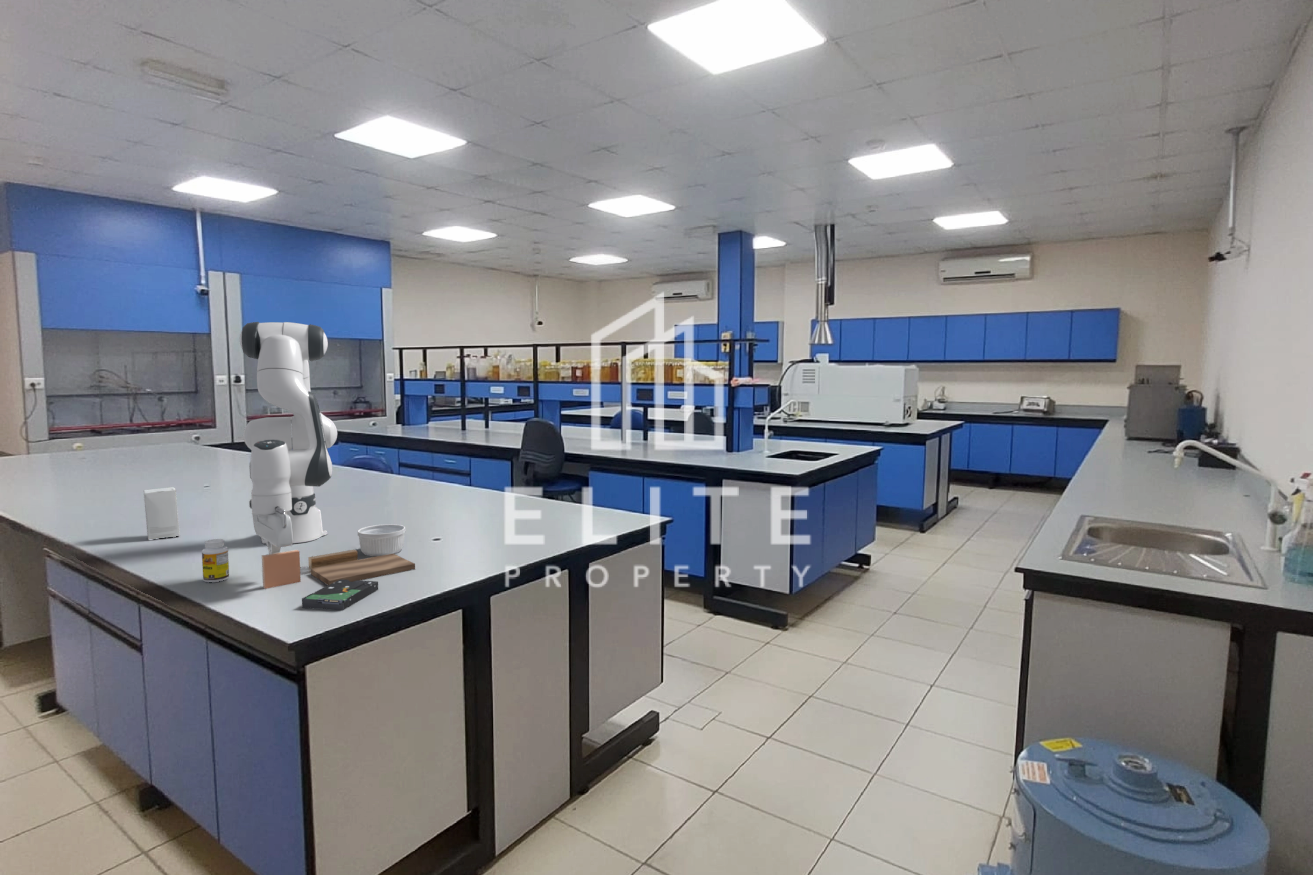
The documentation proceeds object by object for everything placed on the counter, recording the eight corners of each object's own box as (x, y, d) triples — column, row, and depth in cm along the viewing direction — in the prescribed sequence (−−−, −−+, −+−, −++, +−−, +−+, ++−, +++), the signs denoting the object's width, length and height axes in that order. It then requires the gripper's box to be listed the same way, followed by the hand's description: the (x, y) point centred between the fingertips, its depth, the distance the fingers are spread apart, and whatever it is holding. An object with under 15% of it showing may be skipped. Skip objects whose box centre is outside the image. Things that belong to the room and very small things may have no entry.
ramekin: (348, 555, 194) (347, 531, 193) (379, 544, 206) (378, 522, 205) (385, 559, 190) (385, 535, 189) (415, 548, 202) (414, 525, 202)
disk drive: (339, 590, 164) (301, 609, 150) (339, 578, 164) (300, 597, 149) (379, 591, 163) (344, 612, 148) (378, 580, 163) (343, 599, 148)
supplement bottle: (198, 581, 168) (196, 541, 167) (221, 575, 173) (219, 536, 172) (210, 584, 165) (208, 544, 164) (233, 578, 170) (232, 539, 169)
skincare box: (178, 533, 216) (175, 486, 215) (180, 537, 211) (177, 489, 210) (146, 537, 211) (143, 489, 210) (147, 541, 206) (144, 492, 205)
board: (310, 574, 175) (310, 568, 174) (393, 558, 190) (393, 553, 190) (329, 586, 165) (329, 580, 165) (415, 569, 180) (415, 563, 180)
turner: (352, 559, 189) (351, 548, 188) (360, 564, 184) (359, 552, 184) (273, 573, 175) (273, 561, 174) (280, 579, 170) (280, 566, 170)
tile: (263, 586, 164) (261, 555, 163) (298, 580, 170) (296, 549, 169) (265, 588, 163) (263, 556, 162) (300, 581, 168) (299, 551, 168)
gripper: (298, 508, 163) (300, 563, 164) (274, 497, 177) (276, 547, 179) (270, 512, 159) (272, 568, 160) (247, 500, 173) (249, 552, 174)
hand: (274, 557), depth 169 cm, fingers closed
